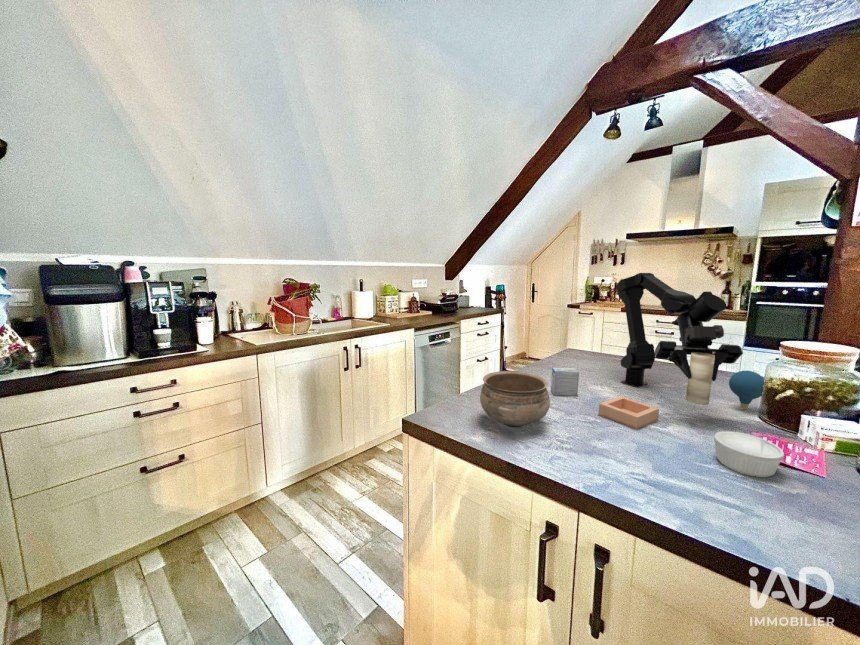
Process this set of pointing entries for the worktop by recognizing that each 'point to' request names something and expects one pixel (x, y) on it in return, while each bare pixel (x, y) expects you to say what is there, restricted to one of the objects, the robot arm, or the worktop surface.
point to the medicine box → (564, 381)
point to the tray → (628, 412)
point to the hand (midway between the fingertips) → (701, 379)
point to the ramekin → (747, 453)
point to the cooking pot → (515, 397)
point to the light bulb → (746, 386)
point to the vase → (700, 378)
